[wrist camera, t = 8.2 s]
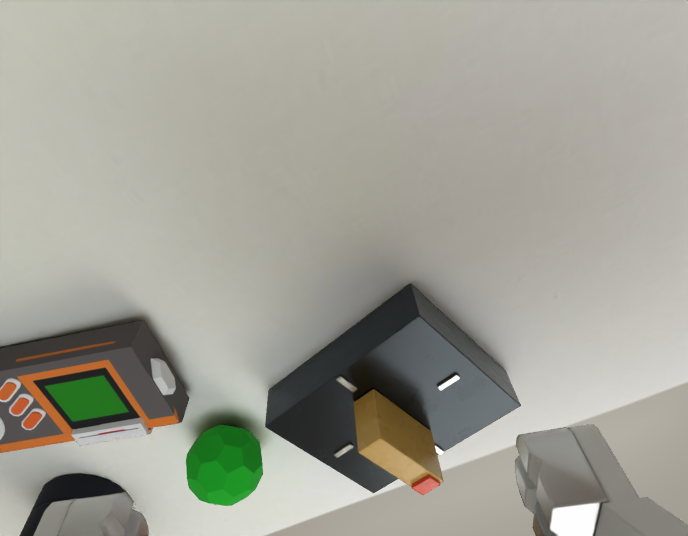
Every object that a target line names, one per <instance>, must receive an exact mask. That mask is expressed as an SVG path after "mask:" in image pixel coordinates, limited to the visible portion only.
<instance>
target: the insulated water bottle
mask: <svg viewBox="0 0 688 536" xmlns="http://www.w3.org/2000/svg"><path fill="white" fill-rule="evenodd" d="M119 493H125V492H124V491H123V490H122V489H121V488H120V487H119V486H118V485H116V484H114V483H112V482H110V481H109V480H106V479H103V478H99V477H96V476H90V475H82V474H77V475H65V476H62V477H58V478H55V479H53V480H51V481H50V482H48V483H47V484H45V486H44V487H43V489H42V491H41V492H40V494H39V496H38V498H37V500H36V503H35V505H34V507H33V509H32V511H31V513H30V515H29V517H28V519H27V521H26V523H25V526H24V528H23V530H22V532H21V534H20V536H33V535H34V533H35V531H36V529H37V527H38V525H39V522H40V520H41V518H42V516H43V514H44V511H45V510H46V509H47V508H48V507H49V505H50V504H51V503H52V502H58V501H65V500H71V499H81V498H88V497H96V496H104V495H111V494H119Z"/></svg>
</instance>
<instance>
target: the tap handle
mask: <svg viewBox="0 0 688 536" xmlns="http://www.w3.org/2000/svg"><path fill="white" fill-rule="evenodd" d="M354 412H355V423H356V434H357V445H358V452H359V453H360V454H361V455H363V456H364V457H366V458H368V459H369V460H371V461H372V462H374V463H375V464H377V465H378V466H380V467H381V468H383V469H385V470H386V471H388V472H389V473H391V474H392V475H394V476H395V477H397V478H398V479H400V480H402V481H403V482H405V483H406V484H408V485H409V486H411V487H412V489H414V490H415V491H417V492H418V493H420V494H422V495H424V494H426V493H427V492H429V491H431V490H433V489H434V488H436V487H438V486H440V483H442V482H443V478H442V473H441V469H440V465H439V460H438V456H437V452H436V448H435V444H434V440H433V436H432V432H431V431H430V430H429V429H427V428H426V427H425V426H423V425H422V424H421V423H419V422H418V421H417V420H415V419H414V418H412V417H411V416H410V415H408V414H407V413H406V412H404V411H403V410H402V409H400V408H399V407H398V406H396V405H395V404H394V403H392V402H391V401H390V400H388V399H387V398H385V397H384V396H383V395H381V394H380V393H379V392H377V391H376V390H375V389H372V390H371V391H370V392H368V393H367V394H365V395H364V396H362V397H361V398H359V399H358V400H356V401H355V402H354Z"/></svg>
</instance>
